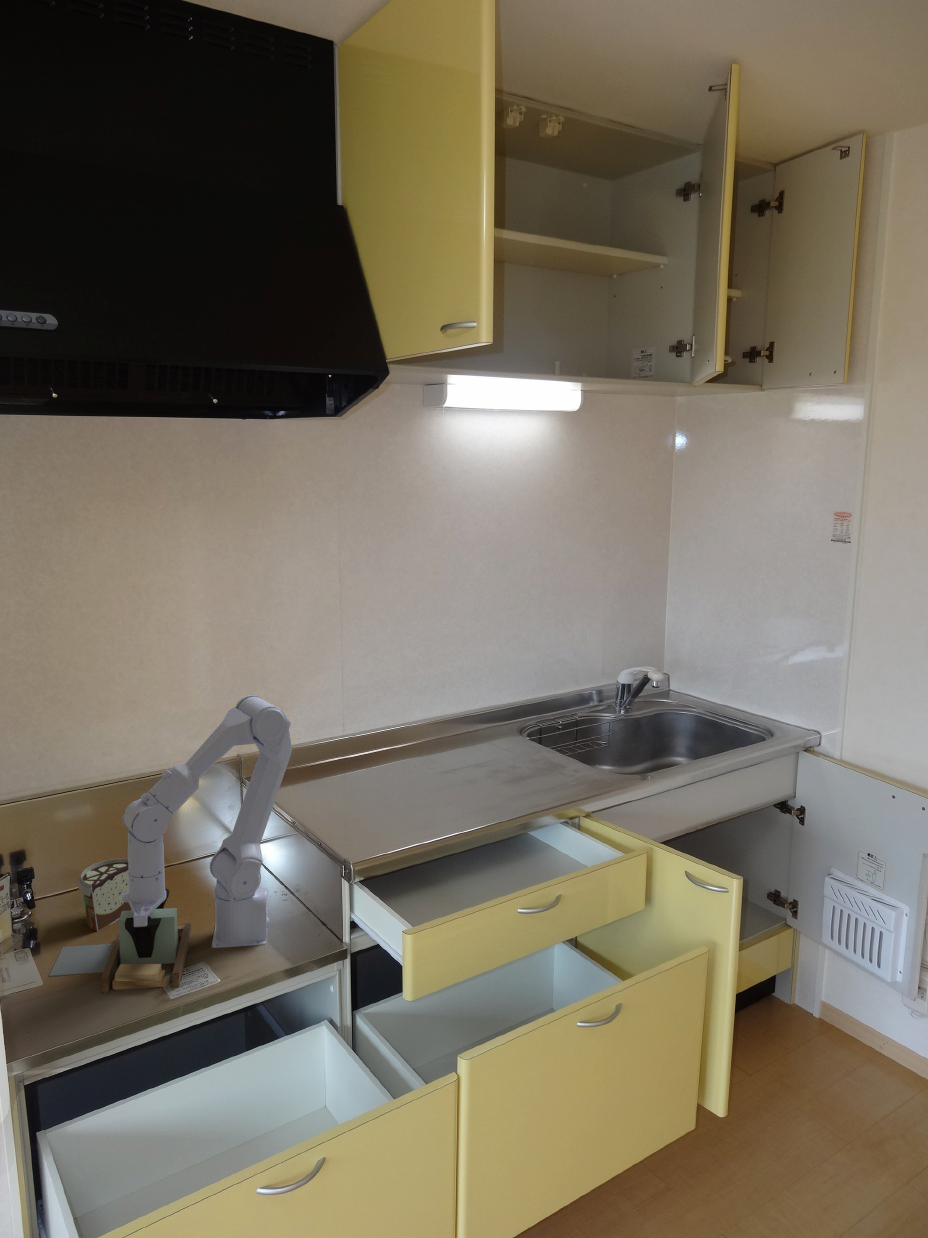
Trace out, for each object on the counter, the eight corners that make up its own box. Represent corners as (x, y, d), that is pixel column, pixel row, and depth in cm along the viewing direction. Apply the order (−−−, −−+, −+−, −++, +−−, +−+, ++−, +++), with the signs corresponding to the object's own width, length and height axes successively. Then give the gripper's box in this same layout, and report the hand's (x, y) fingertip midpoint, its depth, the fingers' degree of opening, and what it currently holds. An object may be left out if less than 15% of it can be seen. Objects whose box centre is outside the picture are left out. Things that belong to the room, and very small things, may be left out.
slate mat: (117, 946, 158) (117, 943, 158) (106, 974, 149) (106, 971, 149) (63, 949, 157) (63, 947, 156) (49, 978, 148) (49, 976, 148)
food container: (114, 900, 174) (111, 852, 173) (139, 906, 172) (137, 858, 170) (65, 930, 163) (62, 879, 161) (91, 937, 161) (88, 885, 159)
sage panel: (178, 955, 156) (176, 908, 154) (175, 965, 153) (174, 916, 151) (124, 959, 154) (122, 911, 153) (120, 969, 151) (118, 920, 150)
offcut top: (161, 970, 148) (161, 964, 148) (156, 981, 145) (156, 974, 145) (120, 971, 148) (120, 964, 147) (115, 981, 145) (114, 974, 144)
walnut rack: (191, 935, 162) (191, 920, 162) (179, 989, 146) (178, 972, 145) (122, 940, 160) (121, 924, 160) (101, 995, 144) (101, 978, 143)
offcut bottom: (171, 982, 149) (171, 975, 149) (168, 992, 146) (168, 986, 146) (118, 985, 148) (118, 979, 148) (114, 996, 145) (114, 989, 145)
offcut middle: (165, 976, 149) (164, 970, 148) (160, 987, 146) (160, 980, 145) (117, 978, 148) (117, 971, 148) (112, 989, 145) (112, 982, 145)
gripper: (129, 853, 157) (132, 924, 159) (112, 892, 143) (115, 969, 145) (171, 851, 158) (173, 922, 161) (158, 889, 144) (161, 966, 146)
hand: (149, 944), depth 153 cm, fingers open, 7 cm apart
